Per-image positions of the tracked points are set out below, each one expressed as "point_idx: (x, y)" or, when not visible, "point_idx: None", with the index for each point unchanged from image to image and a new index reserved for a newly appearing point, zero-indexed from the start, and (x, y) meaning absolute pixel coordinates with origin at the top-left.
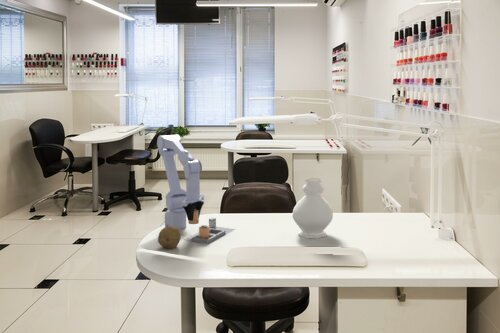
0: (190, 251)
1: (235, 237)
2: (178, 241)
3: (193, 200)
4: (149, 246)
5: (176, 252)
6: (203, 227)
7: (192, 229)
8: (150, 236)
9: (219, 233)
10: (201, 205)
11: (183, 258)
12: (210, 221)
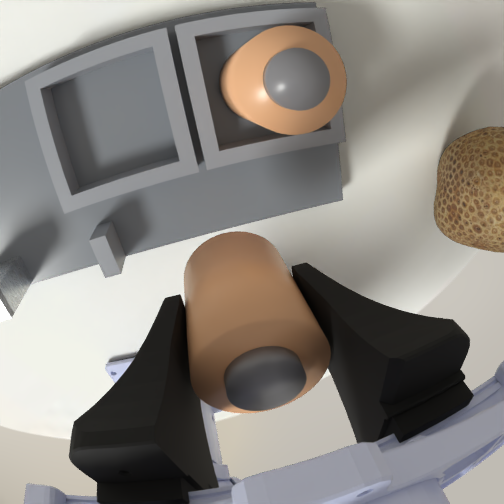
0: (422, 61)
1: (24, 21)
2: (485, 128)
3: (470, 448)
4: (436, 272)
5: (458, 117)
6: (325, 67)
7: (108, 341)
8: (329, 371)
9: (116, 45)
10: (137, 401)
11: (486, 46)
12: (10, 295)
